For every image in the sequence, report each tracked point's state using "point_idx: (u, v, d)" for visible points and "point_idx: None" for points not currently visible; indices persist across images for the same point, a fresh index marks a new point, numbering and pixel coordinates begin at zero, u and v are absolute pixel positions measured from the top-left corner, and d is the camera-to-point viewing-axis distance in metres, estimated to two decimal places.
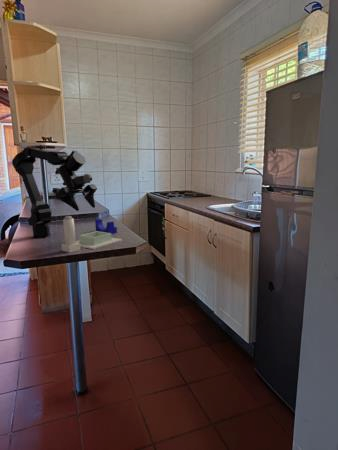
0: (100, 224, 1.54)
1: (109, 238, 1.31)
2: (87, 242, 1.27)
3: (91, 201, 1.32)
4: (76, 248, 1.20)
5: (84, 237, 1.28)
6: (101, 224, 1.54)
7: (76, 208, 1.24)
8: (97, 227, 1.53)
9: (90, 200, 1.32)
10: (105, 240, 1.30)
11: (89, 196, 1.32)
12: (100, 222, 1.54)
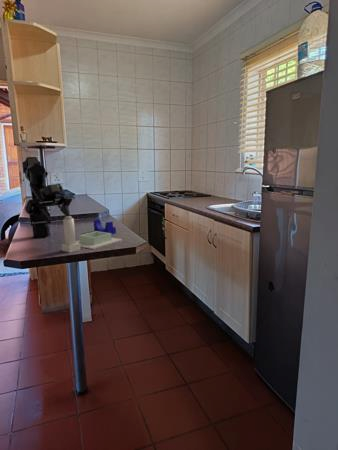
0: (99, 225, 1.53)
1: (109, 238, 1.31)
2: (87, 242, 1.27)
3: (66, 212, 1.26)
4: (76, 248, 1.20)
5: (84, 237, 1.28)
6: (99, 224, 1.53)
7: (47, 219, 1.18)
8: (95, 227, 1.52)
9: (65, 211, 1.27)
10: (105, 240, 1.30)
11: (64, 207, 1.27)
12: (98, 222, 1.53)
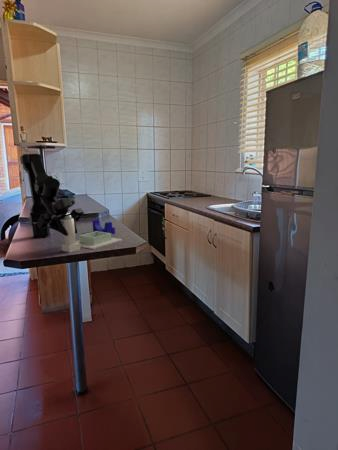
0: (98, 225, 1.52)
1: (109, 238, 1.31)
2: (87, 242, 1.27)
3: None
4: (76, 248, 1.20)
5: (84, 237, 1.28)
6: (98, 225, 1.53)
7: (65, 233, 1.17)
8: (94, 228, 1.52)
9: None
10: (105, 240, 1.30)
11: None
12: (97, 223, 1.53)
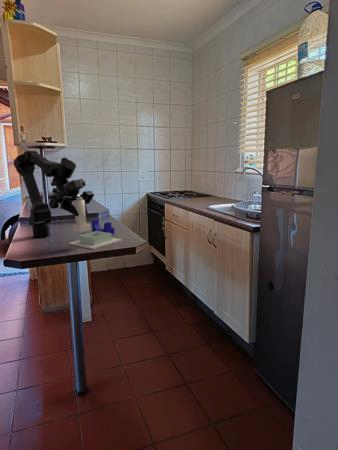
0: (97, 225, 1.52)
1: (109, 238, 1.31)
2: (87, 242, 1.27)
3: None
4: (86, 228, 1.24)
5: (84, 237, 1.28)
6: (98, 225, 1.52)
7: (75, 213, 1.21)
8: (94, 228, 1.51)
9: None
10: (105, 240, 1.30)
11: None
12: (96, 223, 1.52)
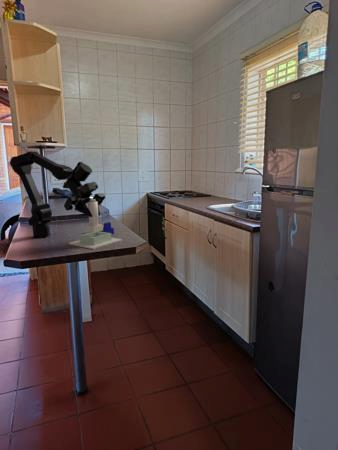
0: None
1: (109, 238, 1.31)
2: (87, 242, 1.27)
3: None
4: (99, 229, 1.30)
5: (84, 237, 1.28)
6: None
7: (89, 214, 1.27)
8: None
9: None
10: (105, 240, 1.30)
11: None
12: None
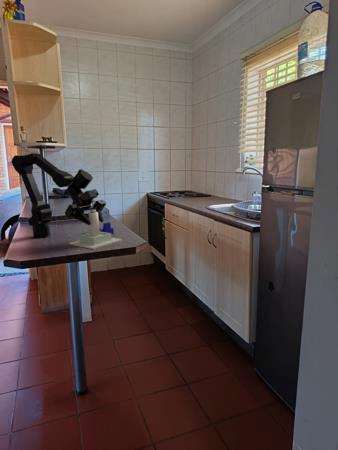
0: None
1: (109, 238, 1.31)
2: (87, 242, 1.27)
3: (99, 216, 1.32)
4: None
5: (84, 237, 1.28)
6: None
7: (88, 222, 1.26)
8: None
9: (98, 215, 1.33)
10: (105, 240, 1.30)
11: None
12: None
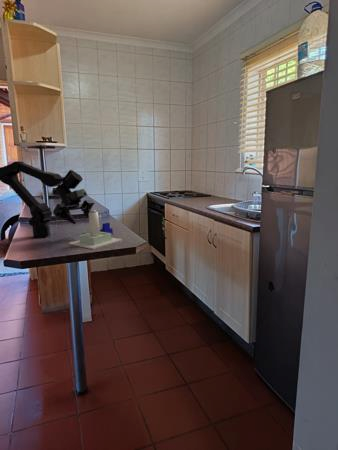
0: None
1: (109, 238, 1.31)
2: (87, 242, 1.27)
3: None
4: None
5: (84, 237, 1.28)
6: None
7: (73, 221, 1.30)
8: None
9: (88, 214, 1.38)
10: (105, 240, 1.30)
11: (87, 210, 1.39)
12: None
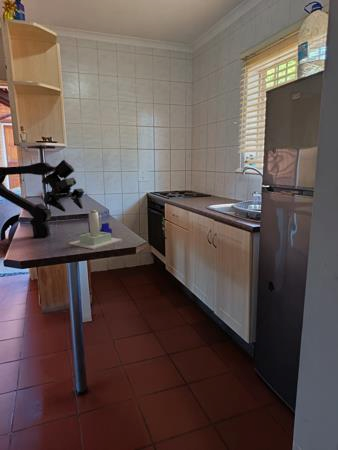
0: None
1: (109, 238, 1.31)
2: (87, 242, 1.27)
3: (79, 203, 1.41)
4: None
5: (84, 237, 1.28)
6: None
7: (63, 209, 1.33)
8: None
9: (78, 202, 1.41)
10: (105, 240, 1.30)
11: (77, 199, 1.41)
12: None
